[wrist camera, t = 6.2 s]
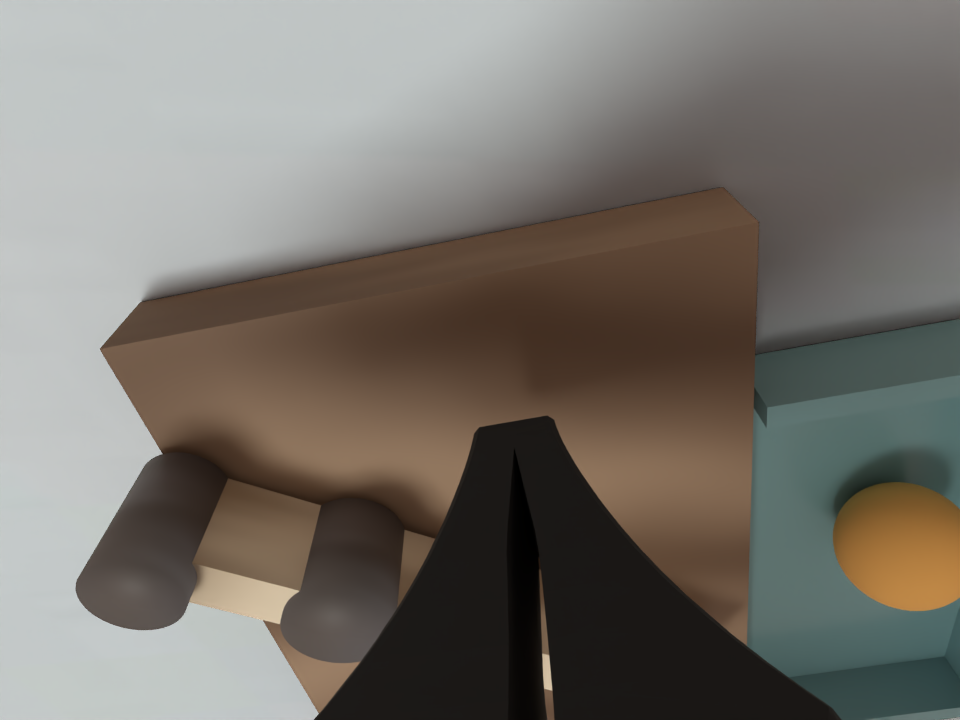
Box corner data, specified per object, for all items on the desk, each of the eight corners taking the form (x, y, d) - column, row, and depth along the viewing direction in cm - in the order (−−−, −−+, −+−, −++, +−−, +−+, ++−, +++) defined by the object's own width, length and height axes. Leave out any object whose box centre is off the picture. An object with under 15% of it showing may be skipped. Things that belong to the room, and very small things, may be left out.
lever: (725, 606, 18) (768, 717, 15) (676, 656, 19) (708, 767, 17) (150, 434, 14) (84, 542, 12) (132, 508, 15) (68, 621, 13)
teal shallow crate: (954, 656, 23) (1019, 751, 20) (732, 685, 24) (767, 782, 21) (1065, 300, 16) (1191, 377, 13) (735, 358, 16) (790, 443, 14)
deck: (724, 677, 24) (744, 734, 22) (367, 725, 25) (361, 783, 23) (722, 187, 14) (758, 222, 12) (140, 302, 15) (99, 349, 13)
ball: (860, 588, 19) (980, 645, 16) (790, 564, 18) (908, 621, 15) (898, 485, 19) (1024, 523, 17) (832, 453, 18) (957, 489, 15)
